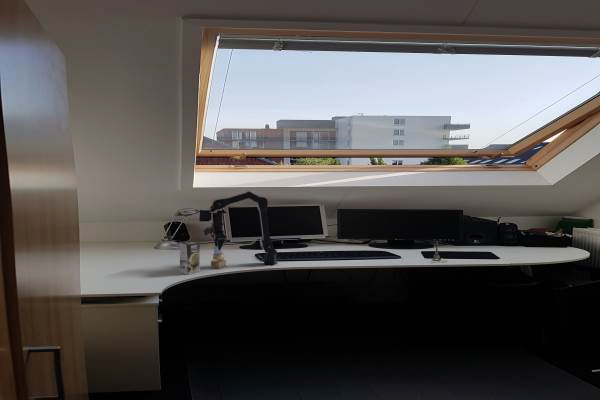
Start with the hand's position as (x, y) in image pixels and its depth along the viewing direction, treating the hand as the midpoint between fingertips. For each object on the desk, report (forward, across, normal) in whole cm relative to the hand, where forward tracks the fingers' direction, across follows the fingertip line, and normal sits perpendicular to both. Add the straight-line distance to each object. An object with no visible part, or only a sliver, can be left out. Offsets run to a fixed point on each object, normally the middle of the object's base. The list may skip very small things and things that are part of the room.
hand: (217, 248), depth 247 cm
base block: (+11, 0, 0) cm, 11 cm away
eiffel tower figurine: (+11, +27, +129) cm, 133 cm away
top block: (+7, 0, 0) cm, 7 cm away
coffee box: (+11, +6, -16) cm, 21 cm away
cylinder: (+3, 0, 0) cm, 3 cm away
